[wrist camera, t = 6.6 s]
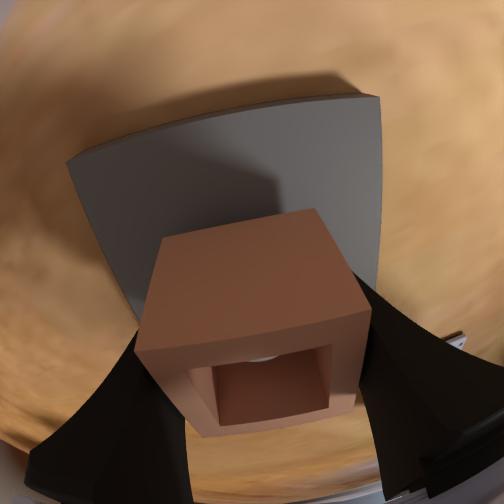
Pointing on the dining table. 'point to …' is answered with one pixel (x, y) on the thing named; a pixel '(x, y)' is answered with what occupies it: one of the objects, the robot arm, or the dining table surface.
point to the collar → (255, 325)
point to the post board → (237, 180)
